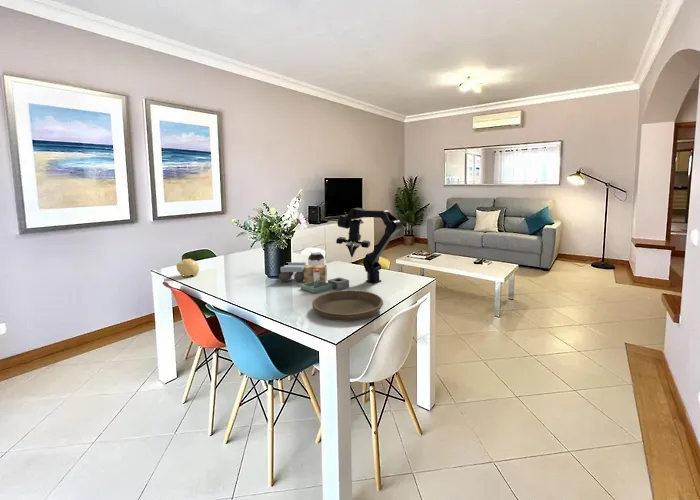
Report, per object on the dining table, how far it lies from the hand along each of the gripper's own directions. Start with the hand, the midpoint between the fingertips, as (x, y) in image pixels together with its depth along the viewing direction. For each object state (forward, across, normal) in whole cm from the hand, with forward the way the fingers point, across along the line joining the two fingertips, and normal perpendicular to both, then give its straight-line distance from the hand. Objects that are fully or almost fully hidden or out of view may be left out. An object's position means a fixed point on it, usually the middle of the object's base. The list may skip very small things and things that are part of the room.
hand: (352, 256), depth 212 cm
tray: (+13, +11, +25) cm, 30 cm away
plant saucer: (+9, -14, +52) cm, 55 cm away
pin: (+12, +11, +25) cm, 30 cm away
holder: (+12, +1, +20) cm, 23 cm away
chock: (+14, +17, +12) cm, 25 cm away
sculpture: (+25, +99, +15) cm, 103 cm away
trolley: (+16, +31, +10) cm, 36 cm away
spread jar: (+17, +26, -15) cm, 35 cm away
